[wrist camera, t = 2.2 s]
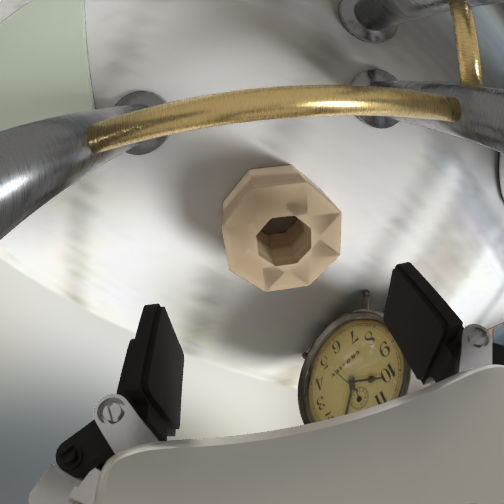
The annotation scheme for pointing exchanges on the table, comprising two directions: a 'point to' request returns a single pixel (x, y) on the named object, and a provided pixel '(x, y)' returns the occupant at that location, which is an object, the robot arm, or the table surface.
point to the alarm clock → (353, 367)
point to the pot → (282, 244)
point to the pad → (44, 63)
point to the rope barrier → (256, 110)
